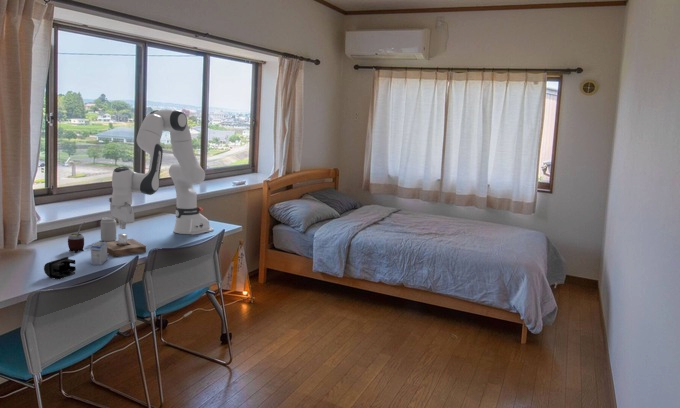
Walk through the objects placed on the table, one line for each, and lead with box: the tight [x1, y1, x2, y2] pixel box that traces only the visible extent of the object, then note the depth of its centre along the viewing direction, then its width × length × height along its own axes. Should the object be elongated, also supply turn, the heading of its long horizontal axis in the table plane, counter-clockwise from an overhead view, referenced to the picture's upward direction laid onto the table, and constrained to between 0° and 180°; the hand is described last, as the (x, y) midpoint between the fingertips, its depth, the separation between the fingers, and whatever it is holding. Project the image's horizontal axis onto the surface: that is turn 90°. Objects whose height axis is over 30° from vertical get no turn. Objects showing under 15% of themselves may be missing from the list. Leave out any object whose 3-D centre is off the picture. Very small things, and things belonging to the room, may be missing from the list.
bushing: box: [117, 233, 128, 247], centre depth 260 cm, size 4×4×8 cm
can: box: [100, 216, 118, 242], centre depth 274 cm, size 8×8×12 cm
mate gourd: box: [67, 222, 86, 254], centre depth 253 cm, size 8×8×15 cm
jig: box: [107, 238, 147, 258], centre depth 260 cm, size 16×16×3 cm
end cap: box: [43, 256, 76, 280], centre depth 220 cm, size 10×7×7 cm
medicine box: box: [90, 241, 108, 266], centre depth 239 cm, size 8×4×9 cm, turn 5°
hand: (122, 228), depth 258 cm, fingers closed
